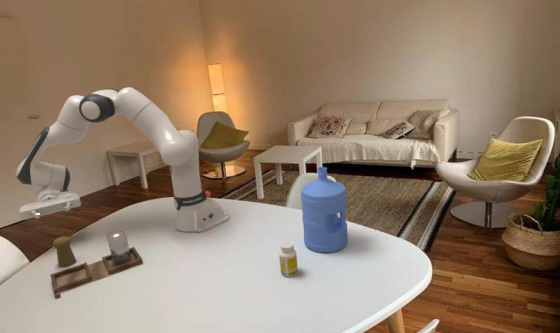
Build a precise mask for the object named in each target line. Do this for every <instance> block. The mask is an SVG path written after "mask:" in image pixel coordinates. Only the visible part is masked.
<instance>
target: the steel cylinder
mask: <svg viewBox="0 0 560 333" xmlns="http://www.w3.org/2000/svg"><path fill="white" fill-rule="evenodd" d="M106 240H107V243H108V248H109V251H110V255H111V257H112V261H113V265H114V266H119V265H122V264H124V263H127V262H130V261H132V259H131V254H130V250H129V248H130V246H129V242H128V241H129V240H128V237H127V233H126V229H121V228H120V229H114V230H112V231H110V232H108V233H107V234H106Z"/></svg>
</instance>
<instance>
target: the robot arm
mask: <svg viewBox="0 0 560 333" xmlns="http://www.w3.org/2000/svg"><path fill="white" fill-rule="evenodd" d="M117 115H121V116H123V117H125V119H127V120H128V121H129V122H130V123H132V124H133V125H134V126H135V127H136V128H137V129H138V130H139V131H141V132H142V133H143V134H144V135H145V136H146V137H147V138H148V139H149V141H150V142H151V143H152V144H153V146H154V147H155V148H156V150H157V151H158V152H159V154H160V156H161V159H162V161H163V162H164V163H165V165H168V166H170V167H172V168H171V176H170V177H171V184H172V189H173V203H174V207H175V210H176V220H175V222H176V224H175V229H176V230H177V231H179V232H184V233H186V232H198V233H202V232H204V231H206V230H209V229H211V228H213V227H215V226H218V225H220V224H222V223H225V222H227V221H229V220H230V218H231V217H230V214H229V212H227V211H226V210H224V209H223V207H222V205H221V204H220V203H219V202H218V201H217V200H215V199H213V198H210V197H211V196H212V193H211V191H208V190H206V189H203V188H202V183H201V175H200V156H199V155H200V154H199V138H198V136H197V135H196V133H195V132H193V130H191V129H190V130H189V129H181V130H177V128H176V127H175V125H173V122H172V121H171V120H170V118H169V116H168V115H167V114H166V113H165V112H164V111H163V110H162V109H160V108H159V107H158V106H157V105H156V104H155V103H154V102H153V101H152V100H150V98H148V96H145V95H144V94H143V93H142V92H141V91H139V90H137V89H135V88H133V87H130V86H129V87H128V86H127V87H124V88H121V89H120V90H119V89H118V88H105V89H100V90H96V91H94V92H91V93H89V94H87V95H85V96H83V95H78V94H75V95H71V96H69V97H68V98H67V99H66V100H65V103H64V105H63V106H62V108H61V110H60V112H59V114H58V118H57V120H56V121H55V122H54V123H53V124H52V125H49V126H45V127H44V128H43V129H42V130H41V131H40V133H39V134H38V136H37V137H36V139H35V141H34V142H33V144H32V146H31V147H30V149H29V150H28V152H27V154H26V155H25V157H24V158H23V159H22V161H20V164H19V165H18V167H17V169H16V173H15V175H16V176H15V177H16V179H17V180H18V181H19V182H20V183H21V184H23V185H29V186H32V185H34V186H38V187H37V189H36V192H35V200H36V201H35V202H32V203H27V204H23V205H22V206H21V207H20V208H19V209H18V212H19V215H20V218H21V219H20V220H26V221H27V220H30V219H33V218H35V219H41V217H42V216H46V215H51V214H55V213H57V212H63V211H64V212H69V211H70V210H71V209H75V208H79V207H81V206H82V201H81V197H80V196H79V194H78V193H76V192H74V191H73V190H72V189H68V188H69V185H70V182H71V174H70V170H69V169H68V167H66V165H60V164H57V163H56V164H55V163H50V162H45V161H41V160H39V159H40V158H41V156H42V155H43V153H44V152H45V150H46V149H48V148H49V147H52V146H59V145H60V146H61V145H72V144H76V143H79V142H81V141H82V140H83V139H84V138H85V136H86V135H87V133H88V130H89V128H90V125H91V123H93V124H95V123H102V122H105V121H107V120H111V119H113V118H115V117H116V116H117Z"/></svg>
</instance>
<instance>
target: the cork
mask: <svg viewBox="0 0 560 333" xmlns="http://www.w3.org/2000/svg"><path fill="white" fill-rule="evenodd" d="M52 244H53V248H54V249H56V256H57V264H58V268H65V269H66V268H68V267H69V268H70V267H72V266H74V265H75V264H76V263H77V259H76V257H75V254H74V252H73V250H72V248H71V239H70V238H69V237H68V236H59V237H57V238H55V239H54V240H53V242H52Z"/></svg>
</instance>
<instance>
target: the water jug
mask: <svg viewBox="0 0 560 333" xmlns="http://www.w3.org/2000/svg"><path fill="white" fill-rule="evenodd" d="M327 170H328V168H327V167H325V166H320V167H318V168H317V176H318V178H317V179H315V180H313V181H311V182H309V183H306V184H305V185H303V186H302V187H301V189H300V199H301V200H300V202H301V209H302V211H301V212H302V216H301V219H302V225H303V243H304V246H306V247H307V248H308V249H309V250H311V251H314V252H317V253H323V252H324V253H325V252H328V253H333V252H334V251H335V252H337V251H341V250H342V249H344V248H345V247H346V246H347V245H348V242H349V234H348V223H347V221H346V208H347V199H348V197H347V195H348V194H347V189H346V185H344V184H343V183H341V182H339V181H335V180H332V179H329V178H328V171H327ZM338 214H339V216H338ZM324 253H323V254H324Z"/></svg>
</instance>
